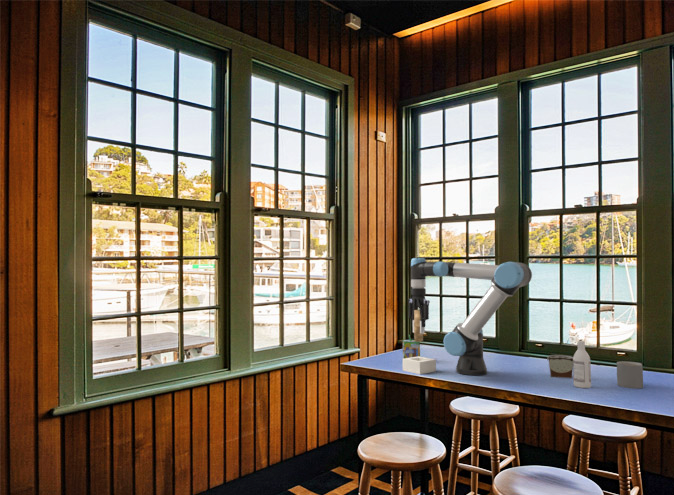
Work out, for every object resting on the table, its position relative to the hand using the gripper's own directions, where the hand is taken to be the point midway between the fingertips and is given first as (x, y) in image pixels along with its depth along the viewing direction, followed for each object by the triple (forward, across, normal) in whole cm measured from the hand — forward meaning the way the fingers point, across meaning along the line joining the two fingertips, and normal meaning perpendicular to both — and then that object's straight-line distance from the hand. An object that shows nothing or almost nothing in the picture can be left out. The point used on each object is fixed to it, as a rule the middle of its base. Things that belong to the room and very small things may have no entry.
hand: (418, 332), depth 250 cm
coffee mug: (+20, -80, -52) cm, 97 cm away
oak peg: (+4, 0, 0) cm, 4 cm away
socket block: (+19, 0, 0) cm, 19 cm away
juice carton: (+20, +23, -18) cm, 35 cm away
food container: (+20, -51, -45) cm, 71 cm away
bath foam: (+20, -68, -32) cm, 78 cm away
